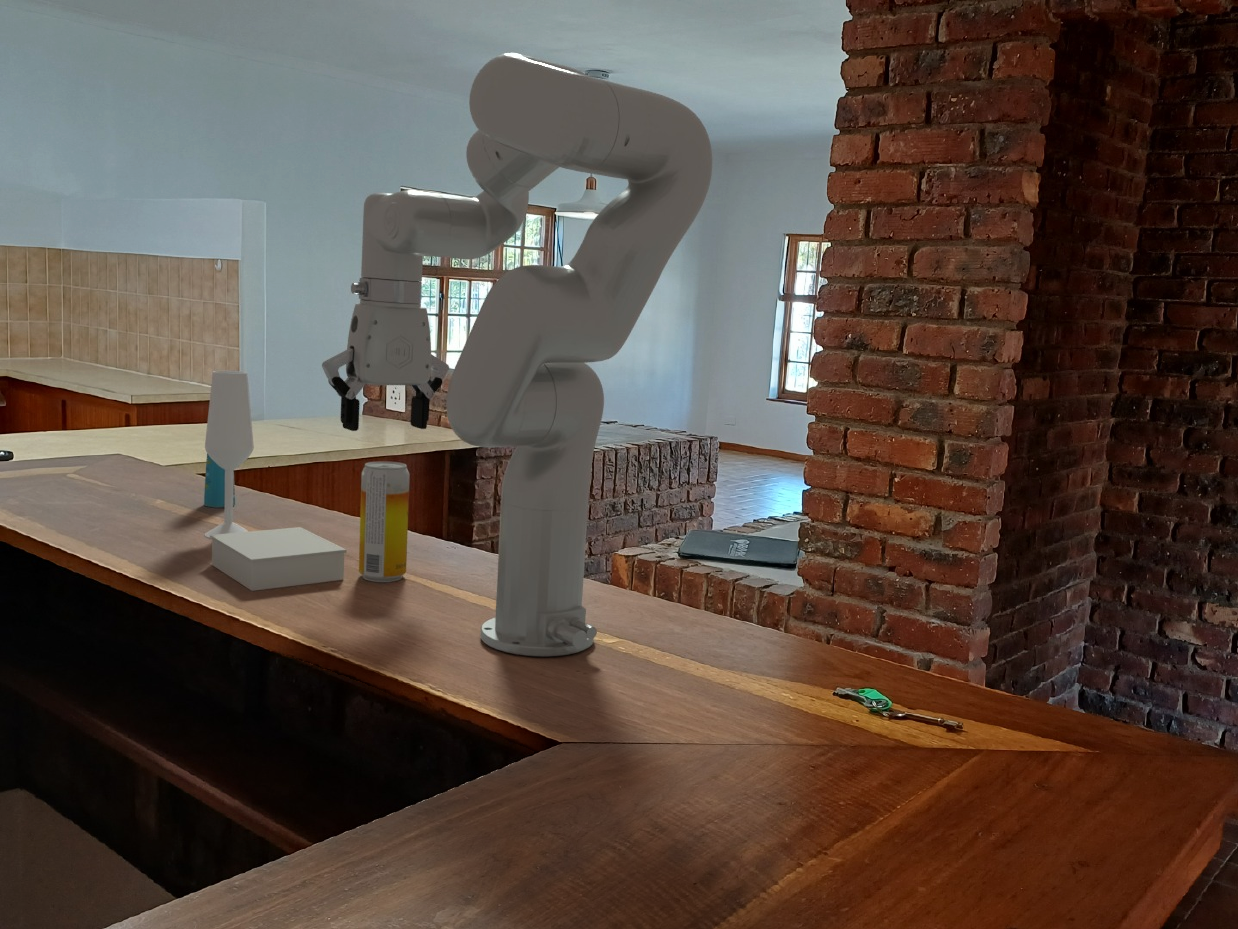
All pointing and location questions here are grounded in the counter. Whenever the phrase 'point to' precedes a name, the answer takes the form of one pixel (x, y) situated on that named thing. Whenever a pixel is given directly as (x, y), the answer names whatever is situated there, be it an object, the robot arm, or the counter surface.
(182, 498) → the counter surface
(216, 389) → the champagne flute
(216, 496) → the tube
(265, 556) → the riser
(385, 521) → the beer can
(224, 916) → the counter surface
